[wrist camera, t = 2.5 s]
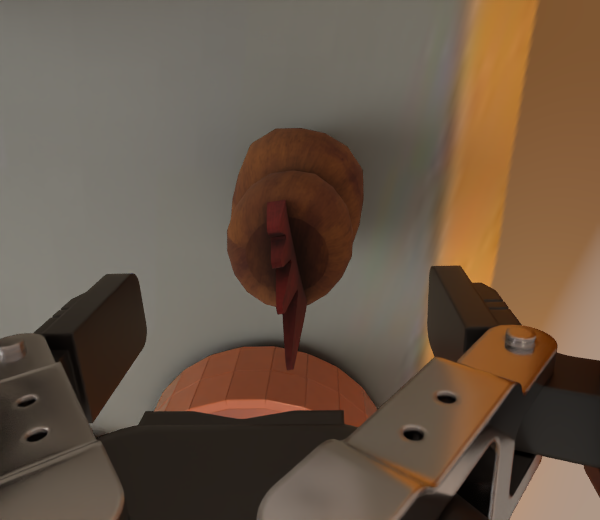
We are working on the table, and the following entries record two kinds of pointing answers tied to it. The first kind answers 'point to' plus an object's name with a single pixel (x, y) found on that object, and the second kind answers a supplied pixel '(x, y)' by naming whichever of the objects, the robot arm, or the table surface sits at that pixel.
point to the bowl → (265, 386)
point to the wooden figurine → (294, 222)
